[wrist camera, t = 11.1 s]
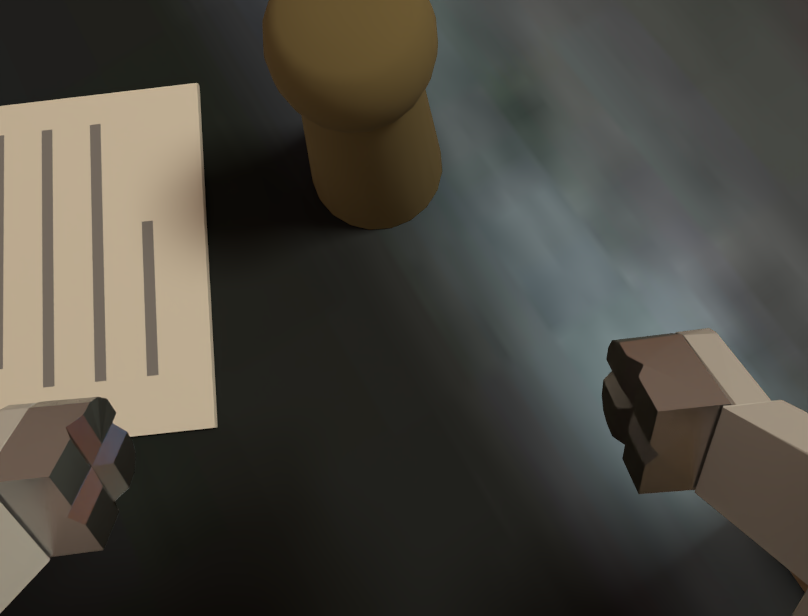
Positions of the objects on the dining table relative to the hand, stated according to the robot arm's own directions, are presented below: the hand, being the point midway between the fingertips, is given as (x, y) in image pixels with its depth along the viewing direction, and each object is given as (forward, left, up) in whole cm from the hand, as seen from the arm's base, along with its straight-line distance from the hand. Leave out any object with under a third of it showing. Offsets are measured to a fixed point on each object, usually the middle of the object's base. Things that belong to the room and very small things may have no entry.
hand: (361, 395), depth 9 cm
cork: (+11, 0, -16) cm, 19 cm away
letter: (+8, +14, -15) cm, 22 cm away
